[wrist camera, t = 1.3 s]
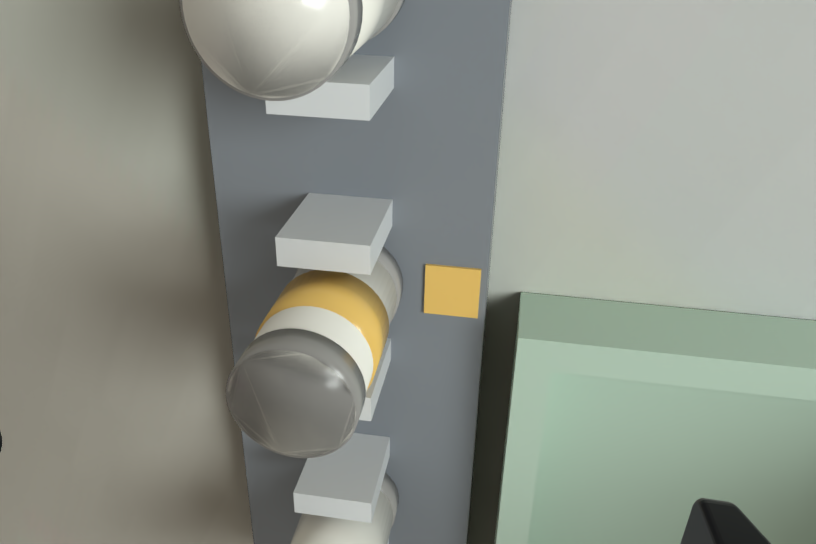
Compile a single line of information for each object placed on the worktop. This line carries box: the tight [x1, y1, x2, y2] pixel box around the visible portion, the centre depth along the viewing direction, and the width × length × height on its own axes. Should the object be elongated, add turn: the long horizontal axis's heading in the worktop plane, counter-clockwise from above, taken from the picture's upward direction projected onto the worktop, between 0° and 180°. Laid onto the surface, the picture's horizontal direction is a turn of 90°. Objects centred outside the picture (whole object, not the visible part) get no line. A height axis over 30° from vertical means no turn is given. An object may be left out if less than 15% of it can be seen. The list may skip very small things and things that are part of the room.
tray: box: [494, 292, 816, 544], centre depth 24 cm, size 13×13×3 cm
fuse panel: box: [201, 0, 512, 544], centre depth 21 cm, size 8×25×4 cm, turn 179°
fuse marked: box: [226, 247, 403, 458], centre depth 19 cm, size 3×3×6 cm
